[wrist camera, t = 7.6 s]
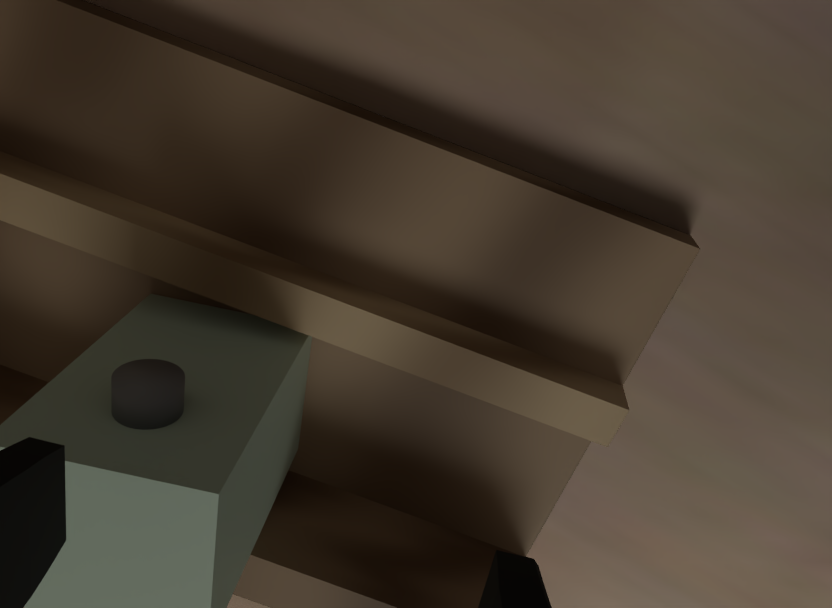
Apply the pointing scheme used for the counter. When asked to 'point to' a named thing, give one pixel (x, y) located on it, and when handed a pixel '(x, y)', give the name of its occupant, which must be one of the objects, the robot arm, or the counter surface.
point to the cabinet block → (168, 453)
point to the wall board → (326, 293)
